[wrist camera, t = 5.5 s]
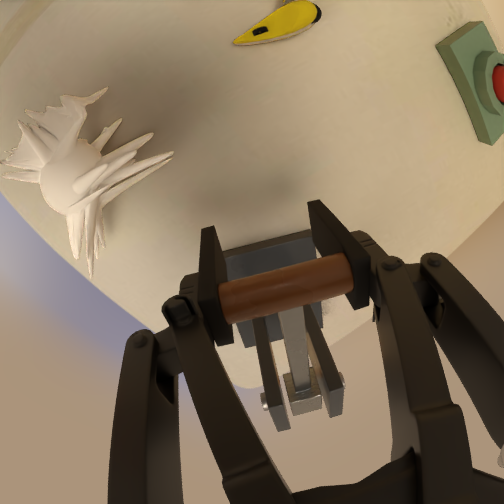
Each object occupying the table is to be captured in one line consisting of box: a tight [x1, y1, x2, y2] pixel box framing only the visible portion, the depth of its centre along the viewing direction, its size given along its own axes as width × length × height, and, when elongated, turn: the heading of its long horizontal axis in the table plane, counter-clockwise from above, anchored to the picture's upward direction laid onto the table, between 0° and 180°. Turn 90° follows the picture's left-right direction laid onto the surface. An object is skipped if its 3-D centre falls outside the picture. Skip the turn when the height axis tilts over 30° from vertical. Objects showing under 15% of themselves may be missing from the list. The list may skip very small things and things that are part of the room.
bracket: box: [223, 230, 345, 432], centre depth 23 cm, size 12×9×14 cm
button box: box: [436, 21, 504, 146], centre depth 17 cm, size 12×8×4 cm, turn 42°
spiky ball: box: [0, 86, 174, 279], centre depth 17 cm, size 11×12×8 cm
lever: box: [218, 252, 354, 416], centre depth 16 cm, size 13×6×2 cm, turn 12°
